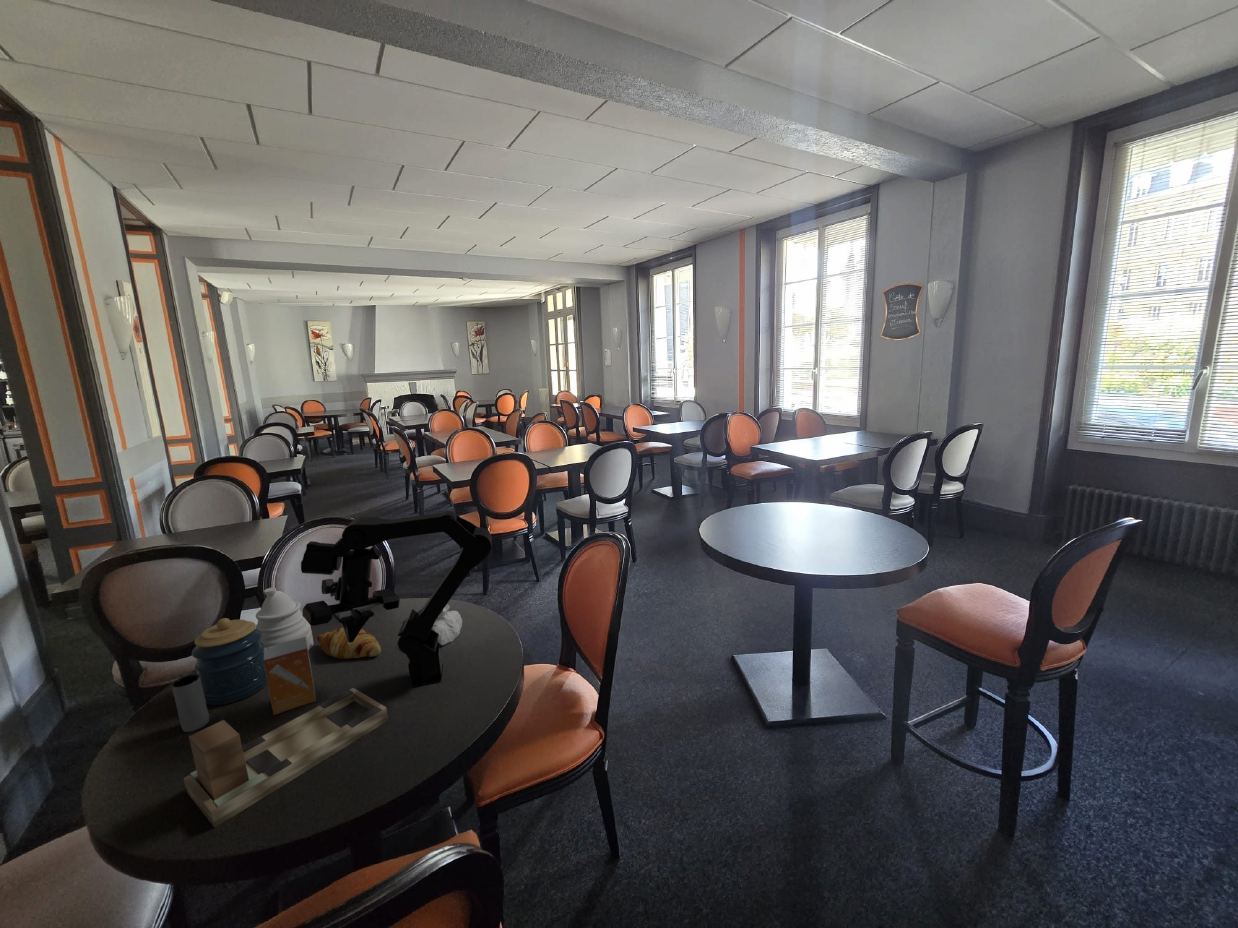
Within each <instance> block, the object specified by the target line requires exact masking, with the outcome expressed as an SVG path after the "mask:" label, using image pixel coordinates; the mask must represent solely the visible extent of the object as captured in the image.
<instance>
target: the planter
mask: <svg viewBox="0 0 1238 928" xmlns="http://www.w3.org/2000/svg"><path fill="white" fill-rule="evenodd" d="M171 689H172V693H173V697H174V701H175V705H176V709H177V713H178V718H179V722H180V727H181V730H182V731H183V732H185V733H188V732H189V733H190V732H193V731H194V732H195V731H196V730H200V729H201V728H203V727H205V726H206V725H207V724H209V722H210V716H209V711H208V707H207V703H206V701H205V697H204V692H203V688H202V684H201V679H200V676H199V675H198V674H189V675H185V676H182V677H180V678H178V679H176V680H175V681H173V682H172V684H171Z"/></svg>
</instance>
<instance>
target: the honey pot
mask: <svg viewBox="0 0 1238 928" xmlns="http://www.w3.org/2000/svg"><path fill="white" fill-rule="evenodd" d="M263 592H264V595H266V597H265V599H264V601H263V602H262V605H261V608H260V609H259V610H258V611H257V612H256V614H255V619H256V620H257V623H256V627H255V629H258V630H260V631H261V632H262V636H261V638H260V641H261V643H263V644H264V648H267V647H271V646H274V645H278V644H281V643H284V642H288V641H292V640H296V639H300V638H303V637H306V640H307V647H308V651H310V650H311V649H312V647H313V646H314V644H315V643H314V638H313V637H314V636H313V631H312V628H311V626H312V625H310V624H309V623H308V622H307V621H306V619H305V618H304V617H303V616H302V612H303V611H301V607H302V605H301V602H300V601H297V600H293V599H292V598H291V597H290V596H289V595H288V594H287V593H285V592H283V591H281V590H277V588H276V587H268V588H266V589H264V590H263Z"/></svg>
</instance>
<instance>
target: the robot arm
mask: <svg viewBox="0 0 1238 928" xmlns="http://www.w3.org/2000/svg"><path fill="white" fill-rule="evenodd" d="M438 533H444V534H446V535H447V536H448V537H450V538H451V540H452V541H454V542H455V543H456V545H458V546H459V547H460V550H459V554H458V555H457V557H456V559H455V561H454V562H453V564H452V566H451V567H450V568H449V570H448V572H447V573H446V574H445V576H444V577H443V579H442V580H441V581H440V583H439V584H438V586H437V587H436V589H435V590H434V591H433V593H432V594H431V596H430V597H429V599H428V600H427V601H426V603H425V604H424V606H423V607H421V609H419V610H418V611H416V610H415V609H411V611H410V613H409V615H408V617H407V618H406V619H405V620H403V621H402V624H401V626H400V629H399V632H398V634H397V636H398V640H397V646H398V649H399V651H400V652H402V653H403V654H405V655H406V656H407V658H408V663H407V664H408V666H407V668H408V674H409V680H411V681H412V682H411V686H412V687H418V686H423V685H427V684H433V683H437V682H442V680H443V673H444V664H443V663H442V658H441V657H442V656H441V648H440V646H437V645H438V643H439V642H438V638H439V634H438V633H437V632H435V631H434V630H432V627H433V625H434V622H435V620H436V619H437V618H438V616H439V615H440V613H441V612H442V610H443V609H444V607H445V606H446V605H447V604H448V603H449V602H450V600H451V599H452V598H453V596H454V594H455V593H456V591H457V590H458V589H459V587H460V586H461V584H462V583H463V581H464V580H465V579H466V577H467V576H468V574H469V573H470V572H471V571H472V570H474V568H475V569H476V567H478V566H479V565H480V564H481V563H482V562H483V561H484V560H485V559H486V558H487V557H488V556H489V554H490V553H491V550H492V543H493V542H492V541H493V540H492V539H493V537H492V534H491V532H490V531H489V530H488V529H487V528H485V527H480V526H477V525H475V524H474V523H473V522H471V521H469V520H467V519H465V518H463V517H461V516H459V515H458V514H456V513H455V512H454V511H452V510H446V511H443V512H437V513H429V514H422V515H413V516H408V517H400V518H391V519H390V518H389V519H387V518H382V517H374V516H373V517H370V516H369V517H367V516H365V517H364V516H362V517H357V518H355V519H353V520H352V521H351V522H349V524H348V525H347V526H346V527H345V528H344V529H343V531H342V534H341V537H340V538H339V539H338V540H337V541H336V542H335V543H329V542H327V543H326V542H318V541H313V540H311V541H309V542H308V543H307V544H306V545H305V548H306V549H305V551H304V553H303V556H302V560H301V562H300V571H301V573H302V574H307V575H308V574H309V575H310V574H311V575H324V576H325V575H327V576H332V575H333V574H334V573H335V571H339V570H340V568H341V576H339V577H338V581H334V579H333V578H327V579H322V580H321V587H320V588H321V589H320V590H321V593H322V594H321V595H330V597H331V598H332V597H334V600H335V601H338V603H336V604H330V605H329V604H328V603H327V602H326V601H325V600H320V601H314V602H308V603H305V605H304V606H303V608H302V611H301V612H302V616H303V617H304V618H305V619H306V621H307V622H308V623H309V624H310V626H312V627H313V626H315V627H316V626H320V625H325V624H328V623H329V622H330V621H331V620H333V617H334V619H335V620H336V621H337V622H338V623H340V624H341V626H342V625H343V628H344V631H345V634H346V637H347V640H348V642H349V643H350V642H353V641H354V640H355V638H356V636H357V635H358V633H359V632H360V630H361V629H363V627H364V626H365V625H366V623H367V622H368V621H369V620H370V618H372V617H374V615H375V613H374V612H373V607H374V606H378V605H382V608H383V609H385V610H386V611H389V610H394V609H395V610H396V609H399V607H400V601H401V600H400V596H399V595H398V594H396V593H395V592H394V591H392V590H391V589H390V588H384V589H380V590H379V589H378V590H374V591H373V593H372V595H371V596H372V597H371V596H370V597H369V593H370V588H372V587H373V581H371V571H372V560H376V561H378V560H379V559H380V558H381V556H382V554H383V551H381V550H380V549H379V548H378V547H377V545H378V544H381V543H384V542H385V541H390V540H394V539H401V538H409V537H416V536H423V535H430V534H438Z"/></svg>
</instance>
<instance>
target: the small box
mask: <svg viewBox="0 0 1238 928" xmlns="http://www.w3.org/2000/svg"><path fill="white" fill-rule="evenodd" d="M264 665H265V671H266V677H267V682H268V683H267V687H268V693H269V697H270V698H269V699H270V703H271V708H272V713H273V715H274V716H276V715H279V714H280V713H284V712H285V711H286V712H287V711H289V710H293V709H296V708H299V707H301V706H305V705H308V704H311V703H314V702H316V701H317V699H316V698H317V697H316V690H315V684H314V683H315V682H314V677H313V671H312V667H311V665H312V664H311V660H310V654H309V650H308V647H307V640H306V637H303V638H300V639H296V640H292V641H288V642H284V643H281V644H278V645H274V646H271V647H267V648H264Z"/></svg>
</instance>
